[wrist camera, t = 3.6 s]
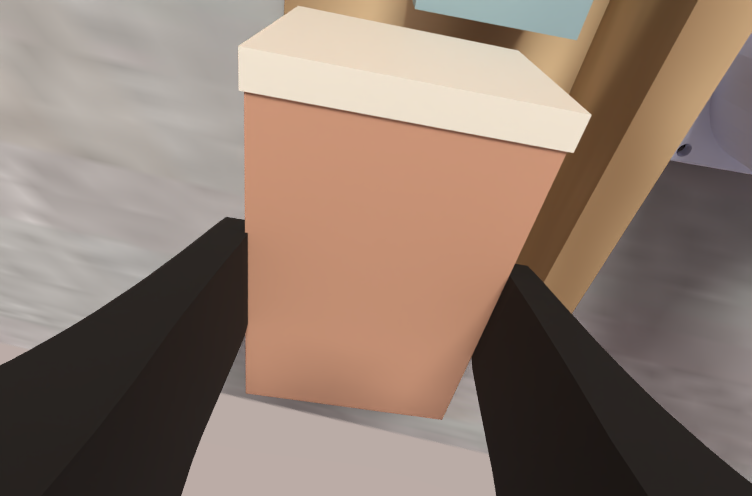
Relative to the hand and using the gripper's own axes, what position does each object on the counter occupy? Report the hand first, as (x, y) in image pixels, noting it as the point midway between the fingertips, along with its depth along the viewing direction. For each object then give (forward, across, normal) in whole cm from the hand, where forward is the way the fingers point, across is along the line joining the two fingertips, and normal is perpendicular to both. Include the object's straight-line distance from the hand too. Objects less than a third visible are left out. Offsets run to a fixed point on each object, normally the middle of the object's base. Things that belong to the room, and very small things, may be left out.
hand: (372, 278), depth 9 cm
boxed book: (+4, 0, 0) cm, 4 cm away
